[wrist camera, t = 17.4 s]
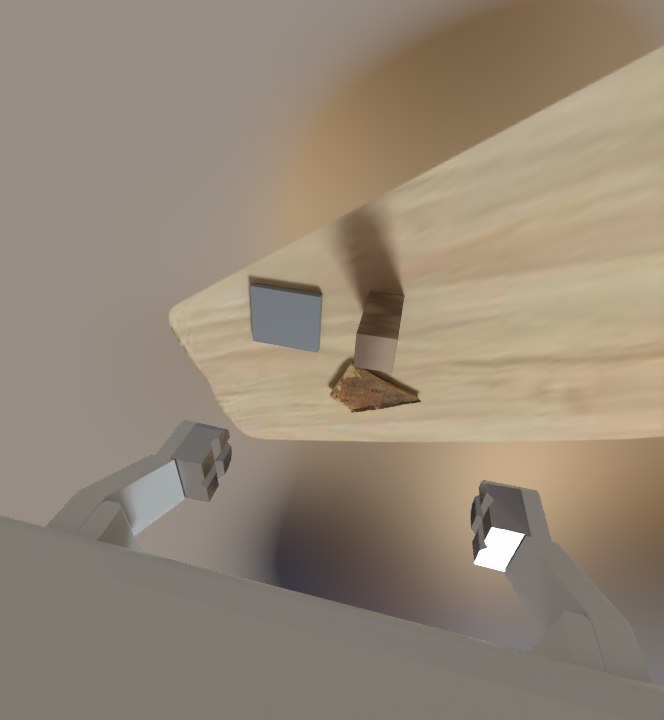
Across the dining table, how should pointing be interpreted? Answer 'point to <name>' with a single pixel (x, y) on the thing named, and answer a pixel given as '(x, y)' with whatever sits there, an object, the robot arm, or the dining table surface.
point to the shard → (368, 391)
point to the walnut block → (378, 332)
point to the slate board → (286, 317)
